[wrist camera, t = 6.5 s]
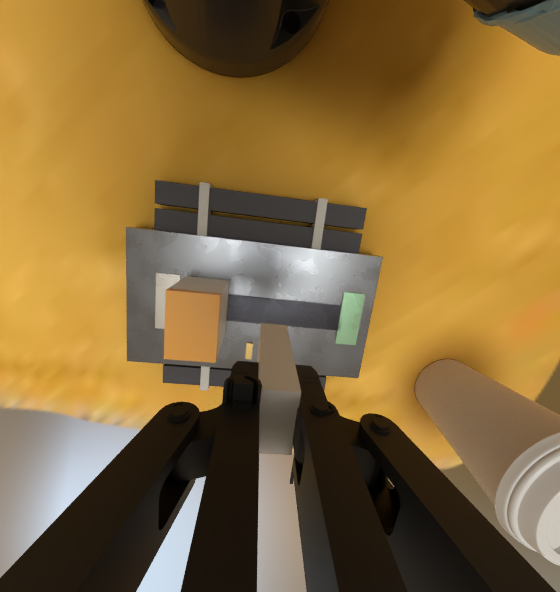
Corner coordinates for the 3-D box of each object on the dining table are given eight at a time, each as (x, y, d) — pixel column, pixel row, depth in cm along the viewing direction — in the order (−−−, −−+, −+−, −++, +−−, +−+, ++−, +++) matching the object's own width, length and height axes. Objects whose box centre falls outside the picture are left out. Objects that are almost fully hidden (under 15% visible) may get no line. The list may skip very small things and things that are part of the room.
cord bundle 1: (162, 180, 24) (154, 175, 23) (360, 206, 26) (368, 204, 24) (161, 233, 26) (153, 233, 24) (351, 255, 27) (358, 257, 25)
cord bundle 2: (169, 353, 28) (162, 362, 26) (323, 365, 30) (327, 374, 28) (168, 376, 29) (161, 387, 27) (319, 387, 30) (323, 397, 28)
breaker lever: (187, 276, 24) (165, 289, 19) (229, 280, 24) (220, 295, 19) (184, 330, 25) (163, 358, 20) (225, 334, 25) (215, 362, 20)
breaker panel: (139, 227, 25) (124, 227, 23) (371, 254, 27) (383, 257, 25) (138, 349, 28) (125, 361, 25) (350, 365, 30) (359, 378, 27)
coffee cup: (404, 429, 33) (521, 592, 18) (397, 356, 30) (524, 474, 16) (483, 412, 33) (662, 559, 18) (482, 337, 30) (686, 438, 16)
